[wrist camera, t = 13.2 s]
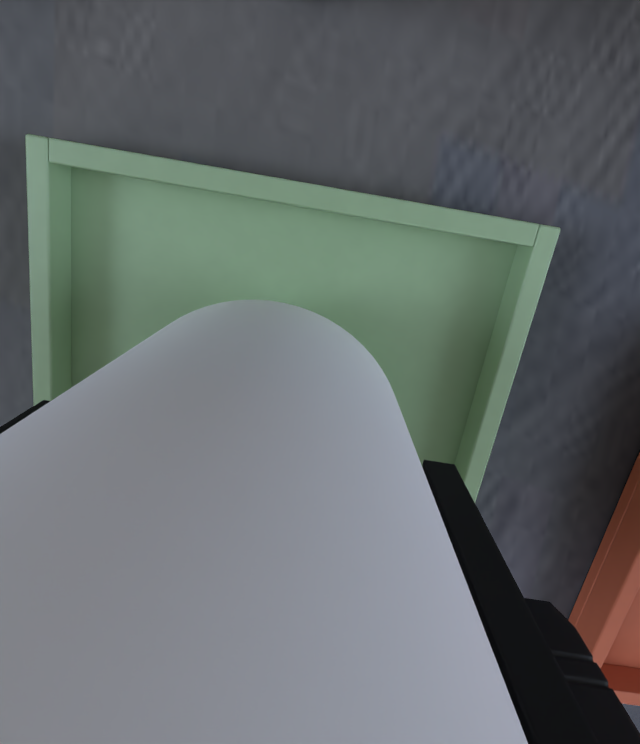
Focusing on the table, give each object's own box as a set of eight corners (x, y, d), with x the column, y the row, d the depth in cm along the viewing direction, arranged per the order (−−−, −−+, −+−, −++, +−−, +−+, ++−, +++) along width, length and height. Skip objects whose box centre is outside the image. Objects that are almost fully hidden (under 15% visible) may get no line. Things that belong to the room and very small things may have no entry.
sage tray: (535, 226, 14) (562, 228, 12) (425, 598, 18) (434, 634, 17) (60, 143, 13) (23, 132, 12) (64, 545, 18) (37, 577, 16)
